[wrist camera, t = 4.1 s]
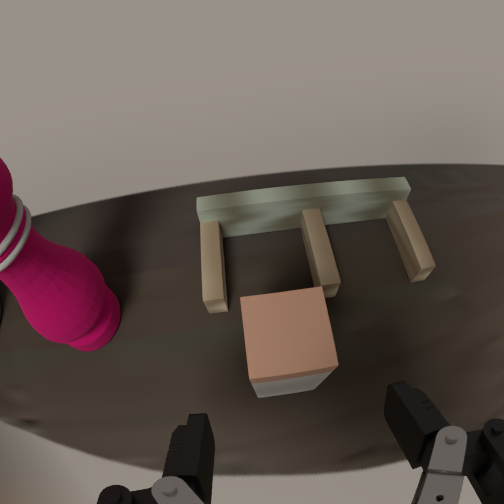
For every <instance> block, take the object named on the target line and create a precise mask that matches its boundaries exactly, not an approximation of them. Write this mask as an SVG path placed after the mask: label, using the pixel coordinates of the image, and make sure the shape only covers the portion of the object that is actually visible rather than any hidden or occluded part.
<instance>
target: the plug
mask: <svg viewBox="0 0 504 504" xmlns="http://www.w3.org/2000/svg"><path fill="white" fill-rule="evenodd" d="M240 300H241V309H242V318H243V328H244V337H245V346H246V355H247V363H248V372H249V380H250V382H251V384H252V386H253V388H254V390H255V392H256V395H257V397H258V398H262V397H270V396H277V395H284V394H291V393H297V392H303V391H309V390H314V389H315V388H316V387H317V386H318V385H319V384H320V383H321V382H322V381H323V380H324V379H325V378H326V377H327V376H328V375H329V374H330V373H331V372H332V371H333V370H334V369H335V368H336V367H337V366H338V365H339V364H338V359H337V354H336V349H335V344H334V339H333V335H332V330H331V325H330V321H329V316H328V311H327V307H326V303H325V298H324V294H323V289H322V286H320V287H313V288H307V289H300V290H293V291H285V292H278V293H271V294H263V295H255V296H248V297H240Z"/></svg>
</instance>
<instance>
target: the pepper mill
mask: <svg viewBox="0 0 504 504" xmlns="http://www.w3.org/2000/svg"><path fill="white" fill-rule="evenodd" d="M12 188H13V186H12V177H11V174H10V172H9V170H8V168H7V166H6V164H5V163H4V162H3V160H2V159H1V158H0V280H1V281H2V282H3V283H4V284H5V285H6V286H7V287H8V288H9V289H10V290H11V291H12V293H13V294H14V295H15V297H16V298H17V300H18V302H19V305H20V307H21V309H22V311H23V313H24V315H25V317H26V318H27V320H28V321H29V323H30V324H31V325H32V327H33V328H34V329H35V330H36V331H37V332H38V333H40V334H41V335H42V336H44V337H45V338H47V339H48V340H50V341H53V342H56V343H67V344H69V345H70V346H72V347H74V348H76V349H78V350H80V351H93V350H96V349H99V348H101V347H102V346H104V345H105V344H107V343H108V342H109V341H110V339H111V338H112V337H113V336H114V334H115V332H116V330H117V328H118V326H119V322H120V315H121V313H120V305H119V302H118V299H117V297H116V296H115V294H114V293H113V292H112V291H111V290H110V289H109V288H108V287H107V286H106V284H105V281H104V278H103V275H102V273H101V272H100V270H99V268H98V267H97V266H96V265H95V264H94V263H93V262H92V261H91V260H89V259H88V258H87V257H86V256H85V255H83V254H81V253H79V252H77V251H76V250H74V249H71V248H68V247H65V246H61V245H58V244H55V243H52V242H50V241H48V240H47V239H45V238H43V237H42V236H41V235H40V234H39V233H38V232H37V231H36V230H35V229H34V228H33V226H32V225H31V214H30V211H29V209H28V208H27V207H26V206H24V205H23V203H22V201H21V199H20V198H19V197H18V196H16V195H12V193H13V189H12Z"/></svg>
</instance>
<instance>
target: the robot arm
mask: <svg viewBox="0 0 504 504" xmlns="http://www.w3.org/2000/svg"><path fill="white" fill-rule="evenodd" d="M0 318H1V301H0ZM384 415H385V419H386V422H387V423H388V425H389V427H390V429H391V431H392V432H393V434H394V436H395V438H396V440H397V441H398V443H399V445H400V447H401V449H402V450H403V452H404V454H405V456H406V458H407V460H408V461H409V463H410V465H411V467H412V469H415V468H417V467H420V466H421V467H422V468H423V472H422V475H421V478H420V481H419V484H418V487H417V490H416V492H415V495H414V498H413V501H412V503H411V504H458V501H459V497H460V493H461V489H462V484H463V479H464V476H467V478H468V479H469V481H470V483H471V485H472V486H473V488H474V490H475V492H476V494H477V496H478V497H479V499H480V501H481V503H482V504H504V420H502V419H491V420H489V421H487V422H486V423H485V425H484V427H483V429H482V430H476V431H471V432H465V431H464V430H463V429H462V428H460V427H457V426H450V425H449V424H448V422H447V421H446V420H445V418H444V417H443V416H442V415H441V413H440V412H439V411H438V409H437V408H436V407H434V404H433V403H432V402H431V401H430V399H429V398H428V397H427V395H426V394H425V393H424V392H422V391H420V390H419V389H417V388H414V389H411V388H410V387H409V385H408V384H407V383H406V382H405V381H400V382H397V383H393V384H389V385H388V387H387V393H386V400H385V407H384ZM214 454H215V441H214V436H213V432H212V429H211V426H210V422H209V419H208V415H207V414H206V413H202V414H189V416H188V421H187V425H179V426H178V427H177V428H176V429H175V431H174V432H173V433H172V437H171V441H170V445H169V451H168V454H167V458H166V462H165V466H164V471H163V475H162V478H161V479H159V480H157V481H156V482H155V483H154V484H153V486H152V487H151V488H148V489H143V490H137V491H131V492H130V491H129V490H128V489H127V488H126V487H124V486H121V485H112V486H109V487H106V488H105V489H103V490H102V492H101V493H100V495H99V498H98V502H97V504H211V495H212V481H213V468H214Z"/></svg>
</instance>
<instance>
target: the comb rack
mask: <svg viewBox="0 0 504 504" xmlns="http://www.w3.org/2000/svg"><path fill="white" fill-rule="evenodd" d="M410 191H411V188H410V186H409V184H408V182H407V180H406V179H405V177H394V178H377V179H362V180H349V181H336V182H324V183H314V184H303V185H293V186H284V187H275V188H266V189H257V190H249V191H241V192H233V193H226V194H219V195H211V196H204V197H198V198H197V214H198V217H199V220H200V229H201V265H202V290H203V302H204V304H205V306H206V308H207V310H208V312H209V313H218V312H226V311H228V302H227V291H226V279H225V266H224V253H223V240H222V238H224V237H232V236H240V235H247V234H255V233H263V232H271V231H279V230H287V229H296V228H300V229H301V233H302V237H303V241H304V245H305V249H306V253H307V258H308V262H309V266H310V271H311V275H312V279H313V284H314V287H320V286H322V289H323V294H324V298H328V297H335V295H336V293H337V291H338V288H339V286H340V283H341V281H340V277H339V274H338V270H337V266H336V263H335V259H334V255H333V252H332V248H331V245H330V242H329V238H328V235H327V231H326V228H325V225H329V224H338V223H347V222H356V221H364V220H374V219H383V218H386V221H387V223H388V225H389V228H390V230H391V233H392V235H393V238H394V240H395V243H396V245H397V248H398V250H399V253H400V256H401V258H402V261H403V264H404V266H405V269H406V272H407V274H408V277H409V280H410V283H412V282H417V281H422V280H425V279H426V277H427V276H428V275H429V274H430V273H431V271H432V270H433V269H434V268H435V266H436V265H435V263H434V260H433V258H432V255H431V253H430V250H429V248H428V246H427V243H426V241H425V239H424V237H423V234H422V232H421V230H420V228H419V225H418V223H417V221H416V219H415V217H414V215H413V213H412V211H411V209H410V207H409V204H408V202H407V197H408V195H409V193H410Z"/></svg>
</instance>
